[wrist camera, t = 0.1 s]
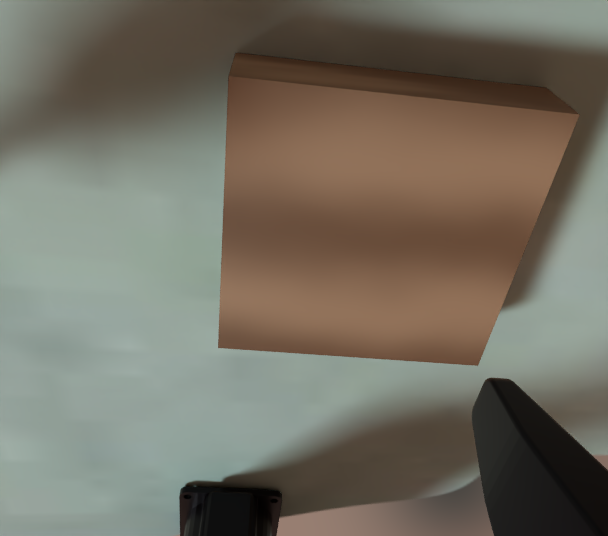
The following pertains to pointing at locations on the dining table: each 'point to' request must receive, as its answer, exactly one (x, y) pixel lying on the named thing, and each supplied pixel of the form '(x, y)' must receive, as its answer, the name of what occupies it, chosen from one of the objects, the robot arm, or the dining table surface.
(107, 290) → the dining table surface
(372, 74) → the walnut plinth
